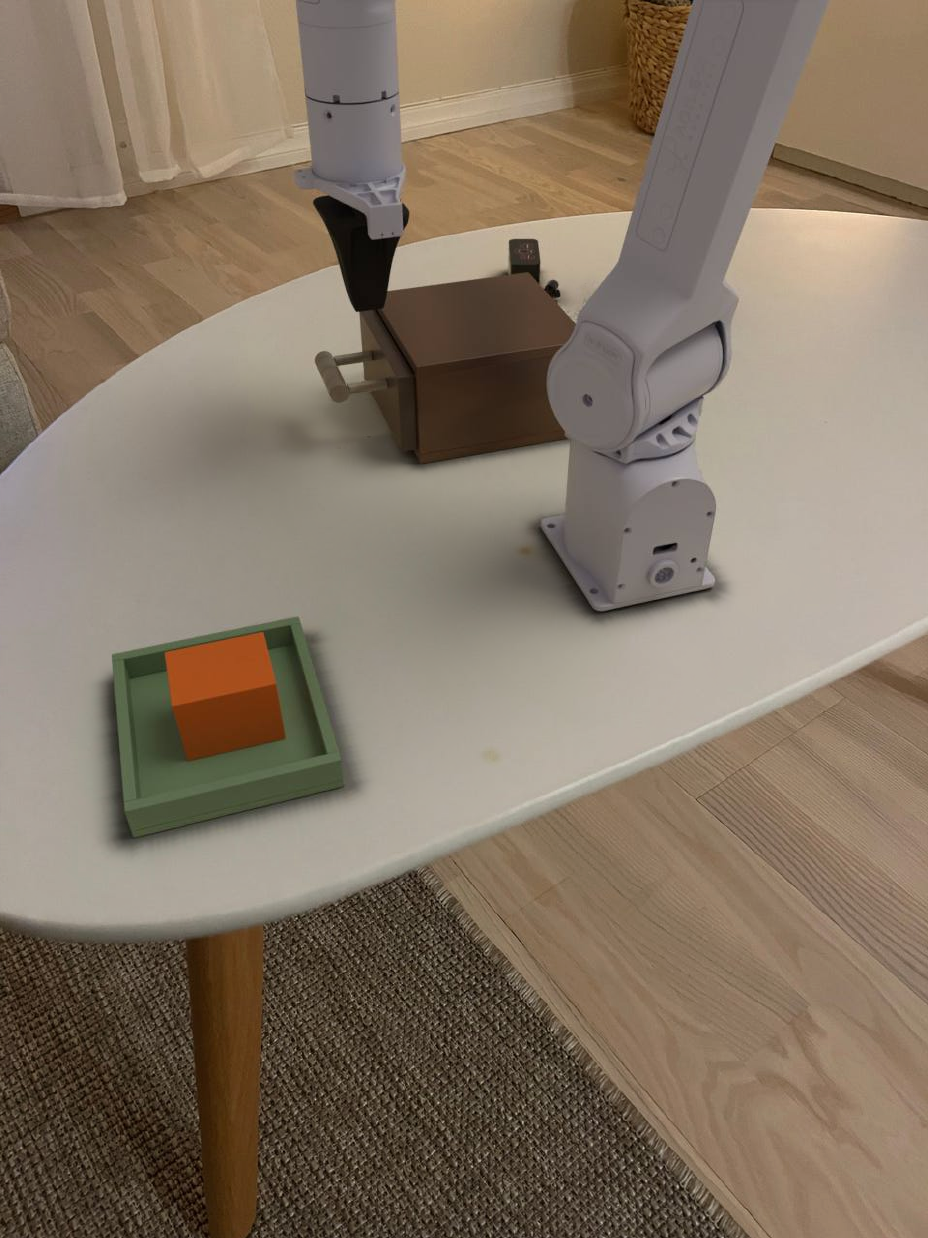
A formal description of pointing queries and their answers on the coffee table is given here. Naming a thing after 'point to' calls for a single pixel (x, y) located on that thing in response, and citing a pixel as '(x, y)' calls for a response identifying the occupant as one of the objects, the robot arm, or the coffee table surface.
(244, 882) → the coffee table surface
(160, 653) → the tray
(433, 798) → the coffee table surface
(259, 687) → the matte orange cube
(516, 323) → the cabinet
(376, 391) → the drawer
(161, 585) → the coffee table surface
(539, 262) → the wireless earbuds
